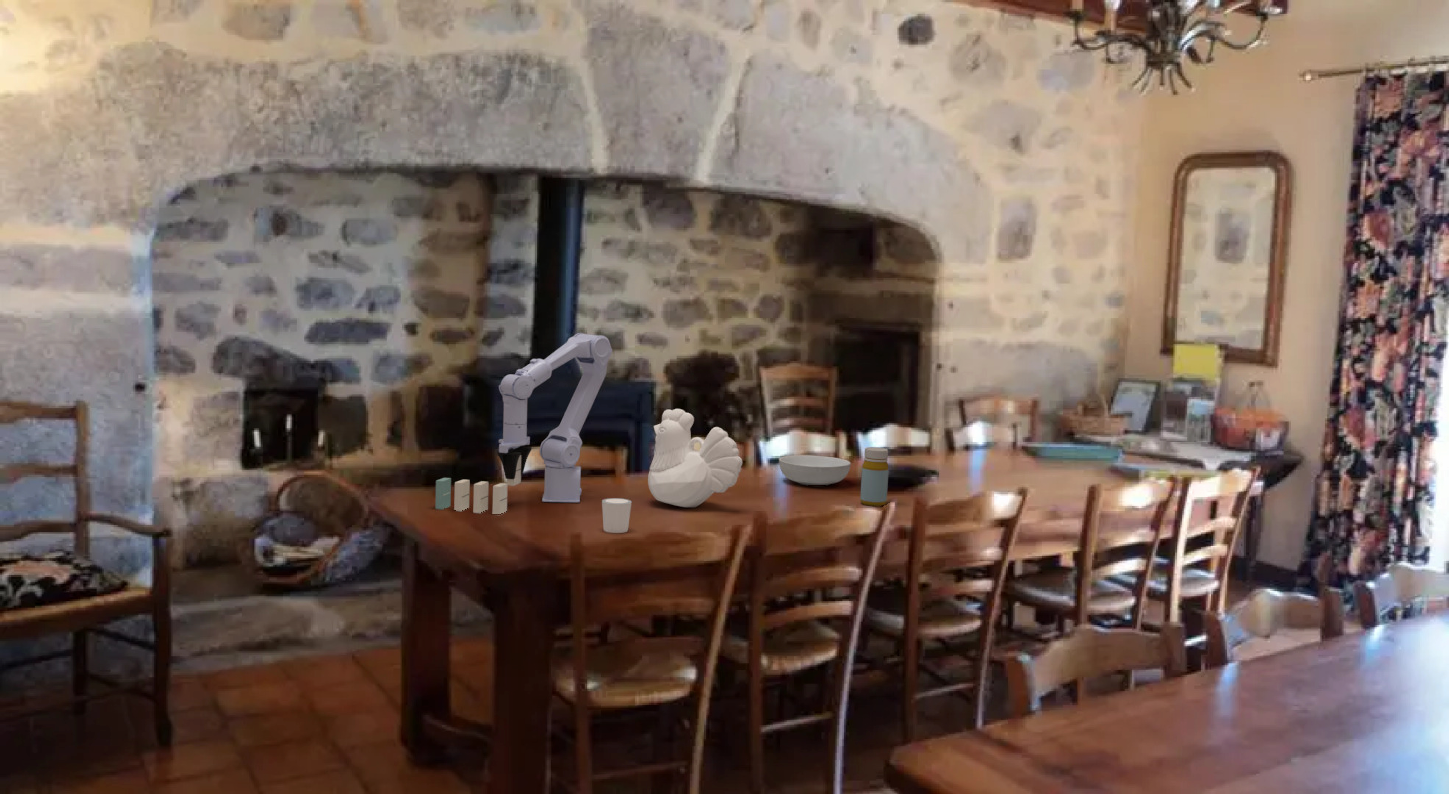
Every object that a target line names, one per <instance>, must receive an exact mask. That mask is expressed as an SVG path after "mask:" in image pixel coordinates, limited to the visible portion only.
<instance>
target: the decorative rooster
mask: <svg viewBox="0 0 1449 794" xmlns="http://www.w3.org/2000/svg"><path fill="white" fill-rule="evenodd" d="M694 422H695V417H694V415H693V414H691V413H689V412H686V411H685V410H684V409H681V408H675V409H665V410H664V411H663V413H662V415H661V422H660V423H659V424H655V425H653V429H654V433H655V437H654V439H655V440H654V441H655V444H654V450H655V452H654V456H653V459H652V461H651V464H650V466H649V472H648V475H647V485H648V489H649V491H650V493H651V495H652V496H653V497H654V498H655V500H657V501H658V502H662V503H665V504H669V505H673V506H676V507H677V506H678V507H682V508H697V507H698V506H701V504H702V503H704V502H706V501H707V500H708V499H709V498H710V497H711V496H712V495H713V494H714V493H721V494H724V493H725V492H726V491H727V490H728V489H729V488H731V487H734V485H736V484H737V482H738V481H737V480H738V478H739V474H740V473H741V471H742V465H743V459H742V458H741V457H740V456H739V454H740V450H739V449H738V444H737V443H736V441H734V439H732V437H729V434H728V431H726V430H724V429H723V428H721V427H719V426H715V427H713V428H711V430H710V431H709V433H708V434H707V435H706V437H705V439H703V438H702V437H699V436H696V437H693V438H691V437H692V435H691V429H692V426H693V424H694ZM696 443H698V444H699V445H700V448H699V450H695V448H694V447H695V444H696Z"/></svg>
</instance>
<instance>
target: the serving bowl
mask: <svg viewBox="0 0 1449 794" xmlns="http://www.w3.org/2000/svg"><path fill="white" fill-rule="evenodd" d="M851 464H852V463H851V462H850V461H849V460H846V459H843V458H839V457H832V456H822V455H811V454H810V455H806V454H803V455H800V454H797V455H796V454H795V455H784V456H782V457H781V456H780V457H779V459H778V465H779V470H780V472H781V473H782V474H783V476H785V478H787V479H788V480H790V481H793V482H795V483H798V484H800V485H802V486H808V485H826V486H829V485H831V484H837V483H839V482H841V481H843V480H844V479H845V478H846V477H847V476H848V474H849V472H850V468H851Z"/></svg>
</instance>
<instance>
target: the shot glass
mask: <svg viewBox="0 0 1449 794" xmlns="http://www.w3.org/2000/svg"><path fill="white" fill-rule="evenodd" d="M601 506H602V507H601V508H602V510H601V511H602V524H603V527H602V528H603V531H604V532H606V533H611V534H612V533H613V534H620V533H621V534H623V533H627V532H628V531H629V524H630V516H631V510H632V500H630V499H627V498H619V497H617V498H616V497H613V498H612V497H611V498H604V499H602V500H601Z"/></svg>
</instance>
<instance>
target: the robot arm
mask: <svg viewBox="0 0 1449 794" xmlns="http://www.w3.org/2000/svg"><path fill="white" fill-rule="evenodd" d="M612 353H613V350H612V346H611V343H610V340H609V338H608V337H606V336H605V335H603V334H602V335H596V334H588V333H587V334H586V333H583V332H578V333H576V334H574V335H573V336H571V337H569V338H568V339H567V341H566V342H565V343H564V344H563V345H561V346H560V347H559V348H557V349H556V350H555V351H553V352H552V353H551V354H550V355H548V356H547V357H546V358H544V359H542V358H532V359H531V360H529V364H527V365H526V366H524V367H522V368H518V369H517V370H516V371H515V374H507V375H505V376H503V378H502V380H501V382H500V384H499V385H498V390H499V393H500V394H501V396H502V402H503V421H502V422H503V423H502V424H503V427H502V428H503V431H502V432H503V433H502V438H500V439H498V443H499V445H498V450H497V451H496V453H497V455H498V458H499V460H500V461H501V464H502V468H503V473H504V477H505V479H506V480H507V479H514V478H515V475H516V467H517V462H518V459H519V456H520V455H521V477H522V476H523V473H524V471H525V467H526V463H527V460H528V457H529V455H530V453H531V451H532V446H529V445H530V442H531V441H530V440H531V436H528V434H527V432H528V427H527V425H528V399H529V398H530V397H531V395H532V393H533V391H534V389H535V388H537V387H538V386H540V385H542V384H543V383H544V382H546V381H547V380H549V379H550V378H551V376H552V373H553V371H554V370H556V369H558V368H559V367H561V366H563V365H565V364H566V363H568V362H569V361H570V360H573V359H574V358H575V359H576V361H577V363H578V364H579V366H580V367H581V369H582V371H583V373H582V375H581V378H580V380H579V382H578V385H577V386H576V389H575V391H574V393H573V395H572V397H571V399H570V400H569V401H570V402H569V403H568V406H567V408H566V410H565V412H564V415H563V417H562V419H561V422H560V424H559V425H558V426H557V427H556V428H553V429H552V430H550V431H549V434H548V436H546V438H545V439H544V440H543V441H541V444H540V446H539V456H540V458H541V459H542V460H543V464H544V489H543V491H544V493H543V494H542V500H541V501H542V502H543V503H545V502H546V503H580V502H581V500H580V499H581V495H582V487H581V471H582V467H581V466H577V465H576V464H577V462H578V461H579V458H580V456H581V453H580V452H581V447H582V445H583V441H582V439H581V437H580V432H581V430H582V428H583V425H584V423H585V422H586V419H587V417H588V415H589V413H590V411H591V409H592V406H593V404H594V402H595V399H596V397H597V395H598V393H599V391H600V389H601V387H602V385H603V382H604V380H605V378H606V375H607V370H608V362H609V360H610V357H611V356H612Z"/></svg>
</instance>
